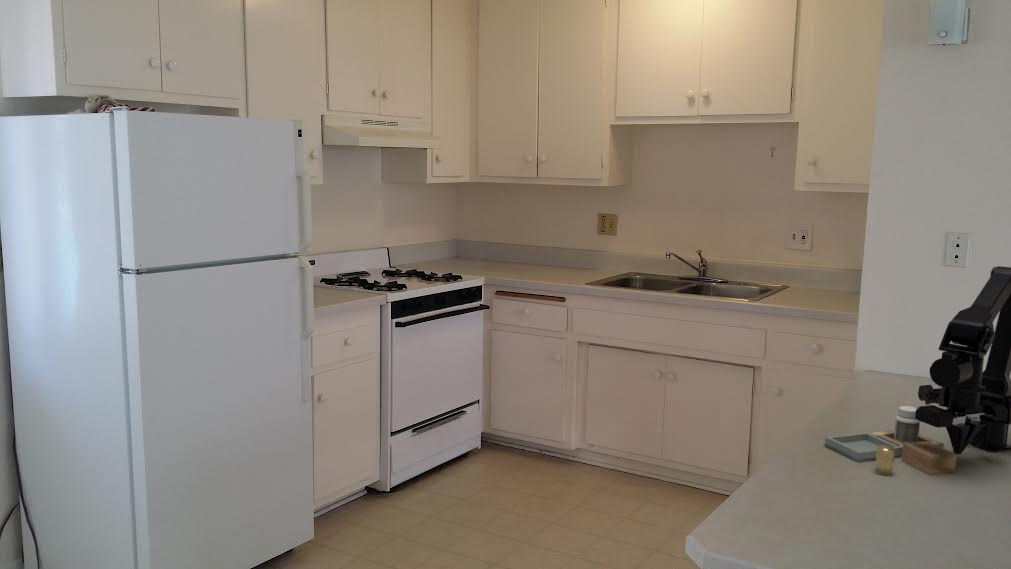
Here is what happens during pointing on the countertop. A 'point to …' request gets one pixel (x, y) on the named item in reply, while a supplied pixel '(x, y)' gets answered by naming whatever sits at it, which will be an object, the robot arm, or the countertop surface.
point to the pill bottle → (906, 425)
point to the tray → (859, 446)
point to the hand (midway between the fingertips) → (957, 453)
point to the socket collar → (890, 438)
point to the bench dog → (884, 460)
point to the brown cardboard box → (929, 458)
